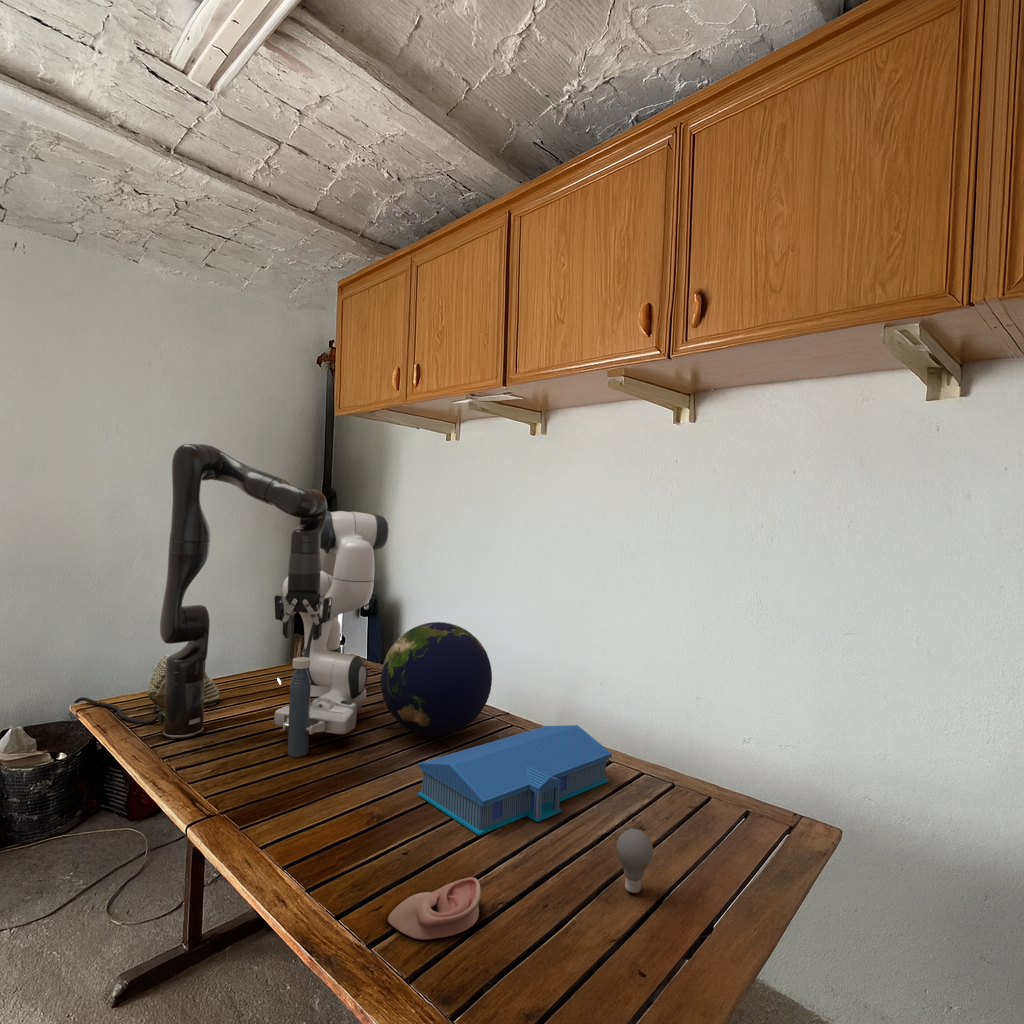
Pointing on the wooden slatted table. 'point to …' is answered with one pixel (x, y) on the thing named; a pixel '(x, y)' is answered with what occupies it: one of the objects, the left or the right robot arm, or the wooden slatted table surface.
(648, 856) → the light bulb
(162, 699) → the fossil
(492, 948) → the wooden slatted table surface
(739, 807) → the wooden slatted table surface
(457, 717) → the globe
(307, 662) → the cap
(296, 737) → the bottle
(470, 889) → the anatomical model
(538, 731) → the model building
